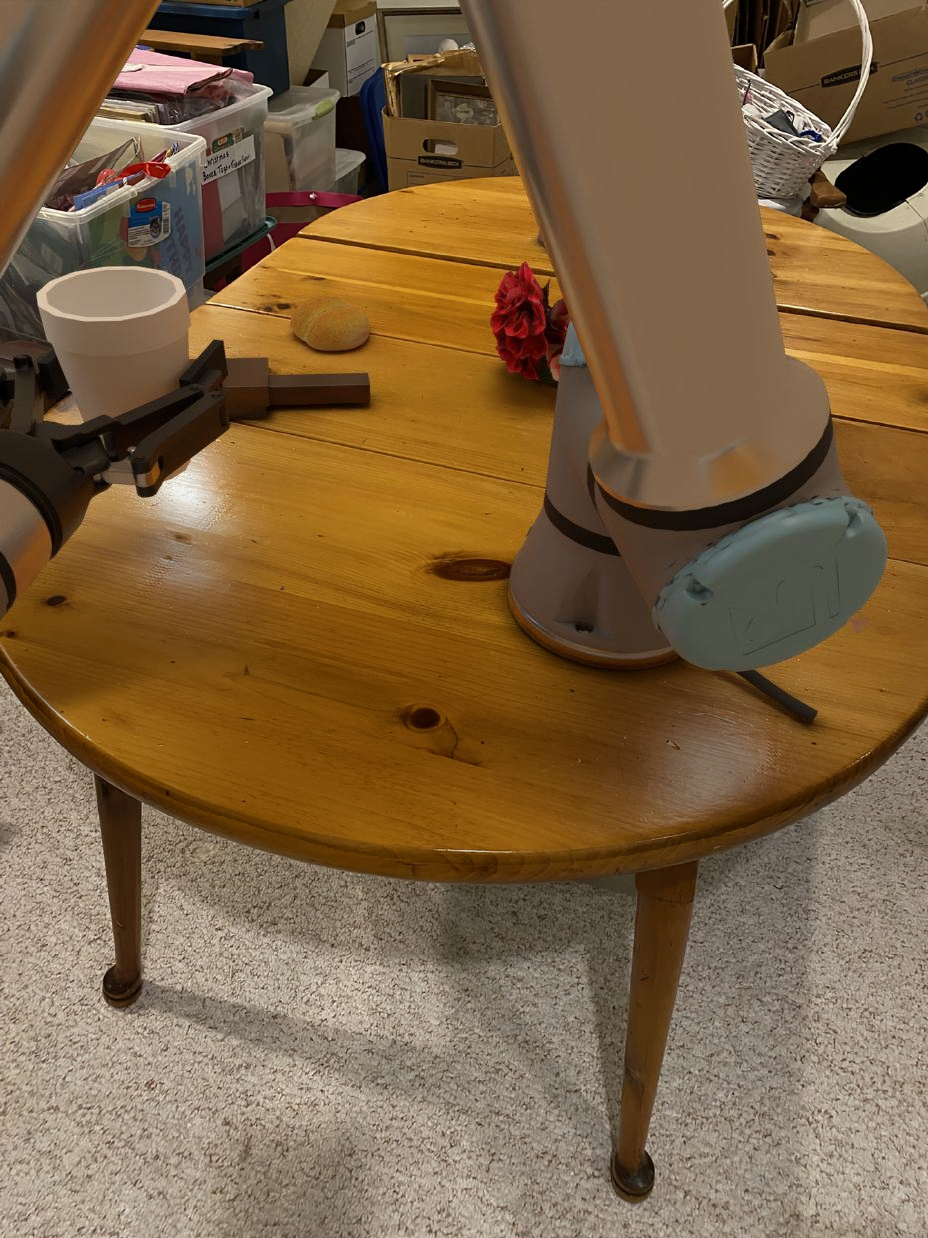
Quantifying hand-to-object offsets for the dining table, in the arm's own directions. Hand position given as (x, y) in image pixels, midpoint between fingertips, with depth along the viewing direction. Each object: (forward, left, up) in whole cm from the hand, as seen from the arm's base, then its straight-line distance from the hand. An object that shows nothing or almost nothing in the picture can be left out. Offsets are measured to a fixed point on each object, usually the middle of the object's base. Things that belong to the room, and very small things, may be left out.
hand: (155, 349), depth 68 cm
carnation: (+19, -48, -14) cm, 53 cm away
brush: (+16, -11, -14) cm, 24 cm away
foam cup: (-4, +2, -7) cm, 8 cm away
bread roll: (+30, -21, -14) cm, 39 cm away
